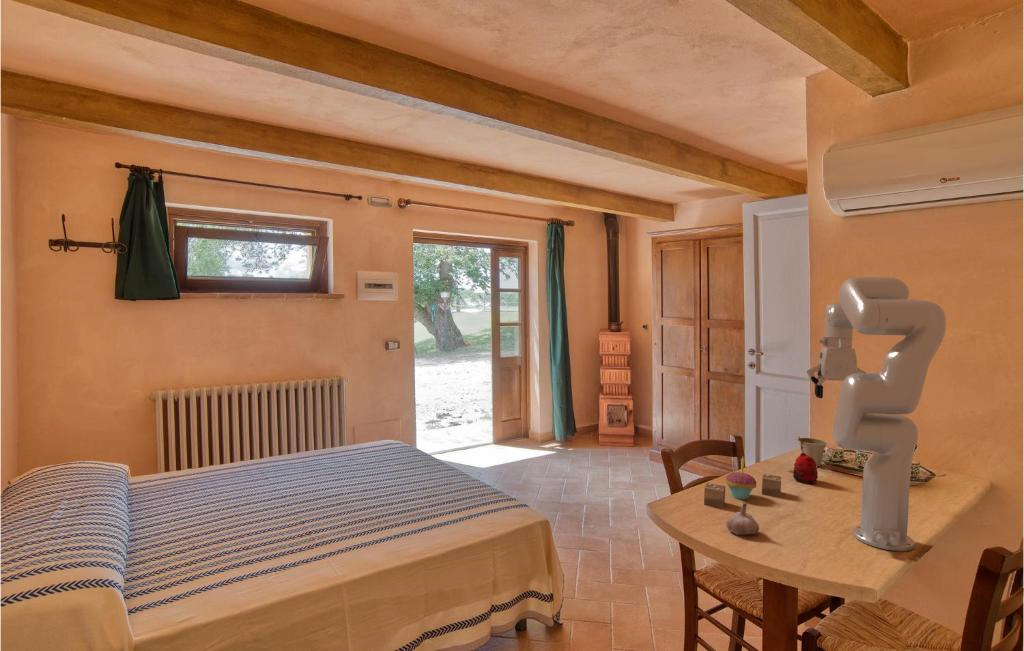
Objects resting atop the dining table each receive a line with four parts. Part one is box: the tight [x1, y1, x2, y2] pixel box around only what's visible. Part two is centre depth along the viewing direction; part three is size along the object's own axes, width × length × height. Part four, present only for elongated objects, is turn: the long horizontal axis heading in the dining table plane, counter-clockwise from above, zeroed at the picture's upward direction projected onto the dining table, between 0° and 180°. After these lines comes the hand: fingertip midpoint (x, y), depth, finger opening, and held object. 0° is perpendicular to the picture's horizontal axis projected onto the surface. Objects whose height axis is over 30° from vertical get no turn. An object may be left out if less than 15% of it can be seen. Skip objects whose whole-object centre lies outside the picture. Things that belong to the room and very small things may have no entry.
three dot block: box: [703, 482, 726, 509], centre depth 156 cm, size 5×5×5 cm
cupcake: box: [725, 457, 757, 500], centre depth 162 cm, size 9×8×12 cm
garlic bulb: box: [725, 501, 760, 536], centre depth 137 cm, size 8×7×8 cm
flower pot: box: [796, 437, 828, 467], centre depth 195 cm, size 9×9×9 cm
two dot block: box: [761, 473, 782, 498], centre depth 166 cm, size 5×5×5 cm
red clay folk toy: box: [792, 436, 819, 485], centre depth 177 cm, size 8×7×15 cm
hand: (835, 398), depth 169 cm, fingers open, 9 cm apart
